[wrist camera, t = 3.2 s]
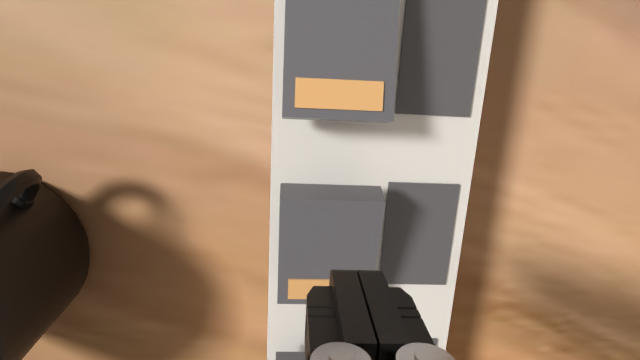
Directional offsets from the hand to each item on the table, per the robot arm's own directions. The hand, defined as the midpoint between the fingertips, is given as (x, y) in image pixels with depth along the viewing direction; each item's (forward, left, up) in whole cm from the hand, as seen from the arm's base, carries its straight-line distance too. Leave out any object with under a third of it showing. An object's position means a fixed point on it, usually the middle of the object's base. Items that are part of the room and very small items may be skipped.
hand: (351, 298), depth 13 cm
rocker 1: (-7, 0, -8) cm, 11 cm away
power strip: (+2, +2, -14) cm, 14 cm away
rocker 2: (+2, 0, -8) cm, 9 cm away
